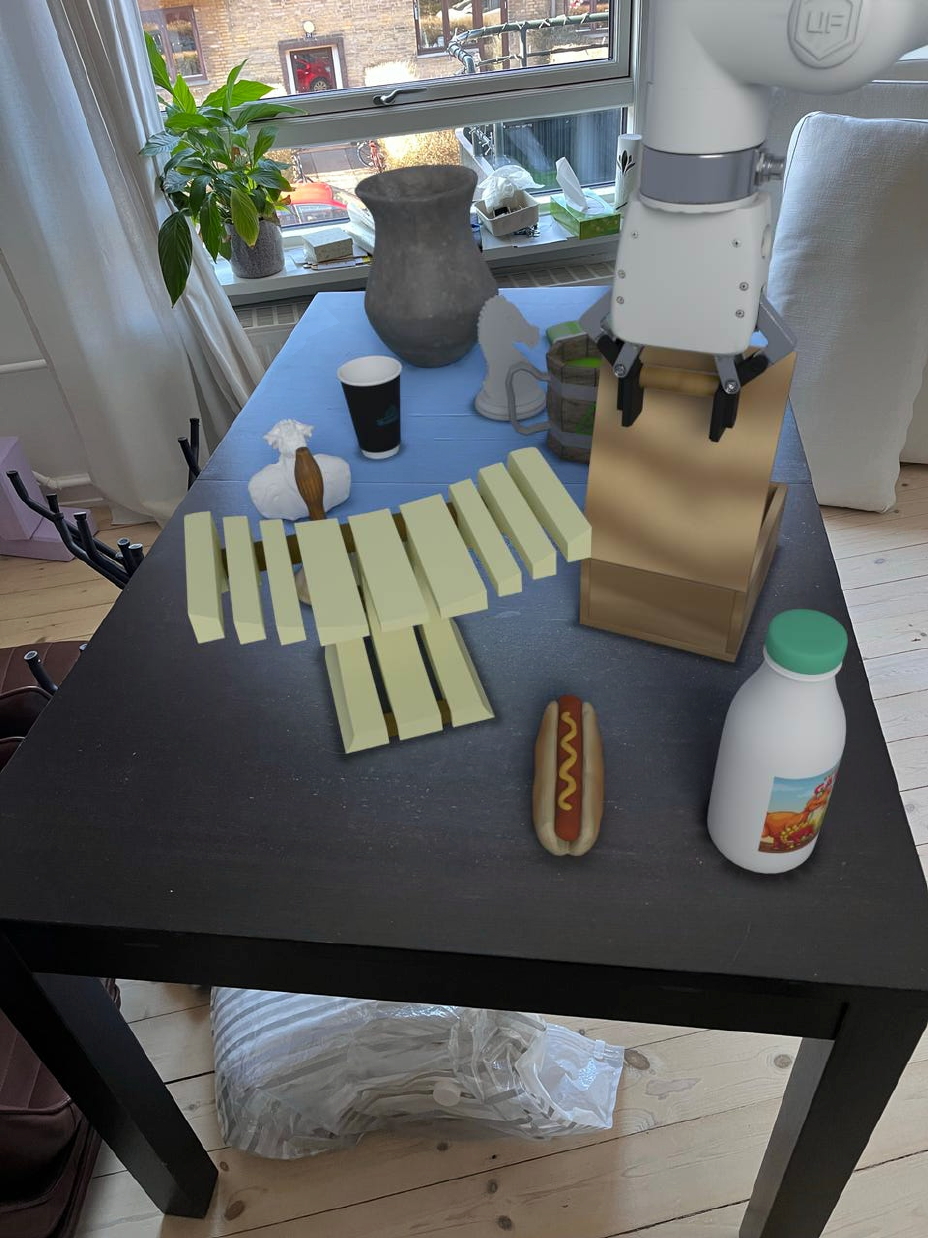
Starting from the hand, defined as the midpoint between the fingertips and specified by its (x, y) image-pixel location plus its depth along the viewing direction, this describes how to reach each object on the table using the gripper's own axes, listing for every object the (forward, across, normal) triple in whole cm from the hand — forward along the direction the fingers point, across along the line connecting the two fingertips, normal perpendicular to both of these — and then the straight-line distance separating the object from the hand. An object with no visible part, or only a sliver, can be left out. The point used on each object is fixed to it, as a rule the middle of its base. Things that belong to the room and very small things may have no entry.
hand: (674, 424), depth 68 cm
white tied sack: (+23, +45, -8) cm, 51 cm away
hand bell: (+23, +34, +3) cm, 41 cm away
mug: (+23, +21, -32) cm, 45 cm away
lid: (+5, 0, -3) cm, 6 cm away
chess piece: (+23, +32, -40) cm, 56 cm away
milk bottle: (+23, -14, +17) cm, 32 cm away
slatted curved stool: (+23, +20, +13) cm, 33 cm away
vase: (+23, +49, -50) cm, 74 cm away
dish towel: (+23, +23, -58) cm, 66 cm away
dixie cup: (+23, +43, -23) cm, 54 cm away
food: (+23, +1, +20) cm, 30 cm away
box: (+23, 0, -10) cm, 25 cm away
